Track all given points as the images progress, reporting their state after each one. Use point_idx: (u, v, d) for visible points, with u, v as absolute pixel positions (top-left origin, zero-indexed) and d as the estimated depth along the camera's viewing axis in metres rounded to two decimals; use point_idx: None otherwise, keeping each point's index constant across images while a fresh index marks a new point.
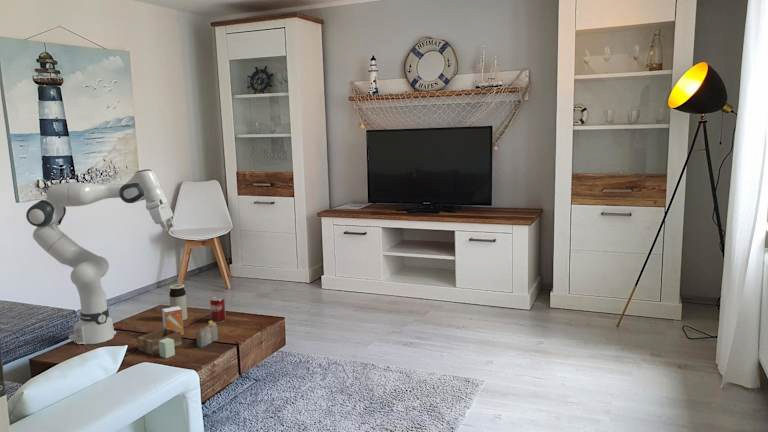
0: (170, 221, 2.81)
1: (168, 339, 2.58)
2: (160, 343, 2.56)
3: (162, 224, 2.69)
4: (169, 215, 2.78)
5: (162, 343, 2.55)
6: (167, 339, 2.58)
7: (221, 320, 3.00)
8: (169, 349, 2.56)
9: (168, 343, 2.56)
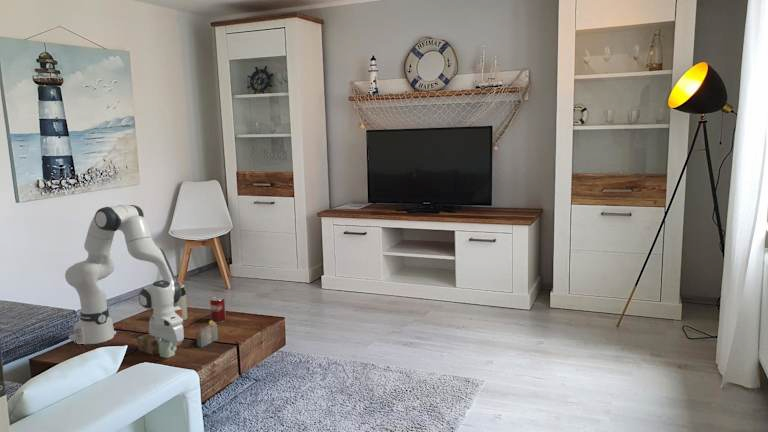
0: (159, 339, 2.61)
1: None
2: (160, 343, 2.56)
3: (175, 343, 2.54)
4: None
5: (162, 343, 2.55)
6: None
7: (221, 320, 3.00)
8: (169, 349, 2.56)
9: (168, 343, 2.56)
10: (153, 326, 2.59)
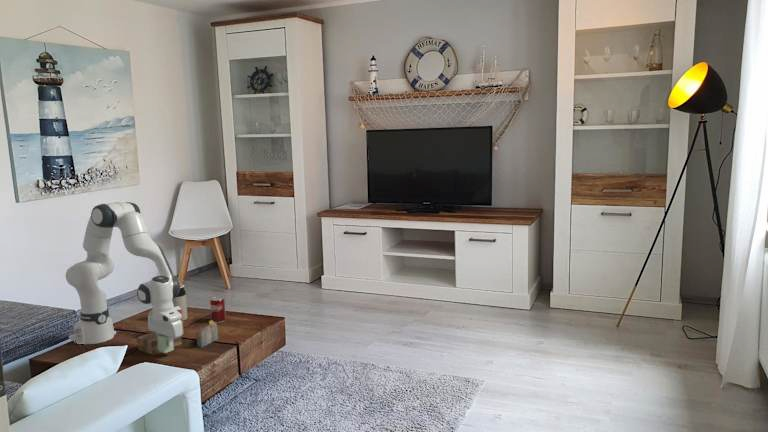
0: None
1: None
2: (159, 338, 2.56)
3: (171, 337, 2.54)
4: None
5: (161, 338, 2.55)
6: None
7: (221, 320, 3.00)
8: None
9: (167, 338, 2.55)
10: (152, 321, 2.58)
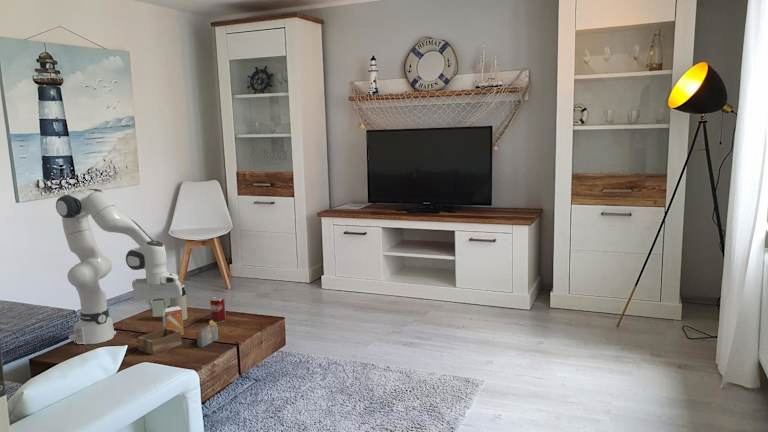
0: (149, 302, 2.59)
1: (159, 299, 2.60)
2: (154, 303, 2.57)
3: (169, 299, 2.60)
4: None
5: (158, 302, 2.57)
6: (157, 299, 2.60)
7: (221, 320, 3.00)
8: (163, 307, 2.60)
9: (163, 301, 2.59)
10: (141, 289, 2.56)
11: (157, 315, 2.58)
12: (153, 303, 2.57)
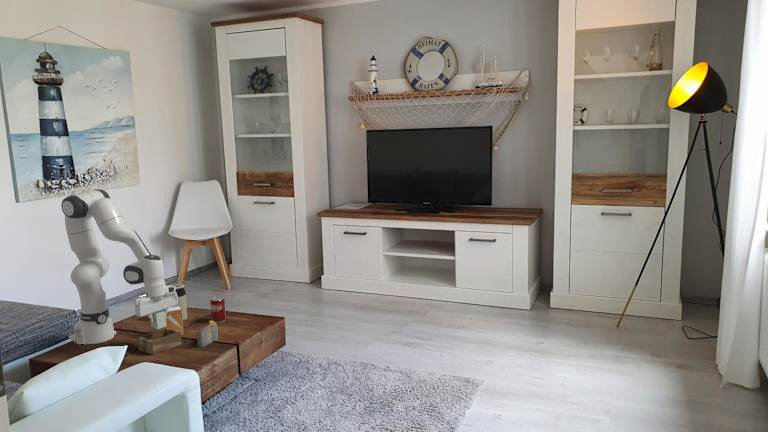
0: None
1: None
2: (158, 315, 2.64)
3: None
4: None
5: (161, 313, 2.65)
6: (155, 312, 2.66)
7: (221, 320, 3.00)
8: None
9: None
10: (146, 304, 2.59)
11: (161, 326, 2.65)
12: (157, 315, 2.63)
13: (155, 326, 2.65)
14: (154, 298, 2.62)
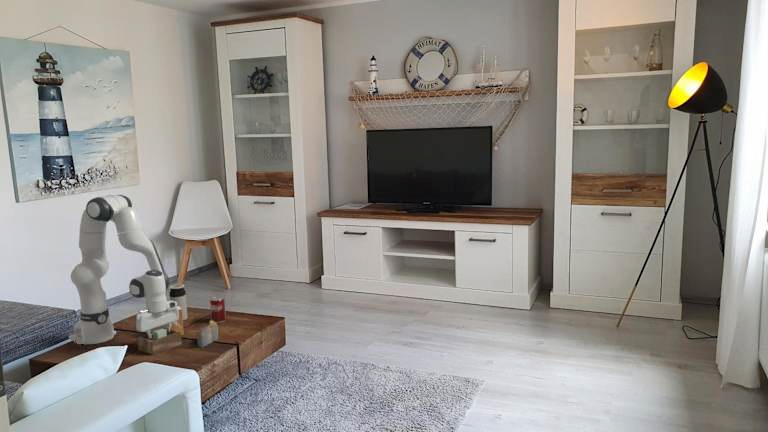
0: None
1: (158, 329, 2.68)
2: (160, 333, 2.65)
3: None
4: None
5: (162, 332, 2.66)
6: (156, 330, 2.67)
7: (221, 320, 3.00)
8: None
9: None
10: (147, 320, 2.60)
11: None
12: (158, 334, 2.65)
13: None
14: (155, 313, 2.63)
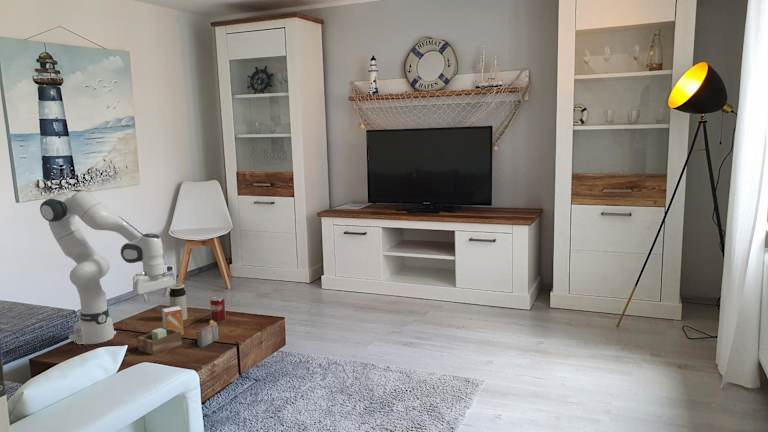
0: None
1: (158, 329, 2.68)
2: (160, 333, 2.65)
3: None
4: None
5: (162, 332, 2.66)
6: (156, 330, 2.67)
7: (221, 320, 3.00)
8: None
9: None
10: (144, 283, 2.57)
11: None
12: (158, 334, 2.65)
13: None
14: (152, 277, 2.60)
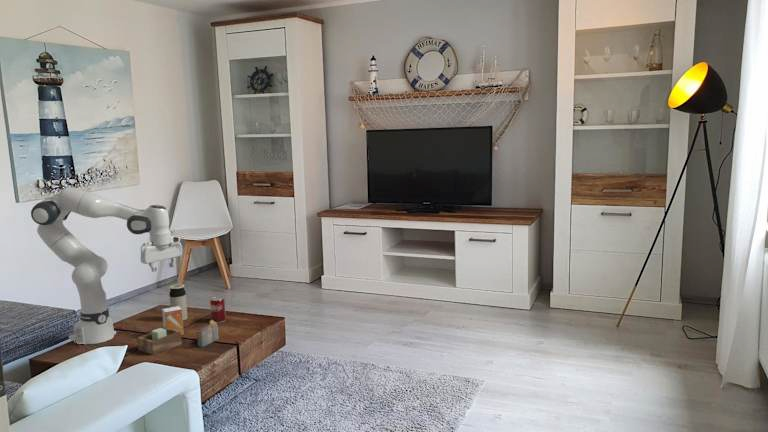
0: None
1: (158, 329, 2.68)
2: (160, 333, 2.65)
3: None
4: None
5: (162, 332, 2.66)
6: (156, 330, 2.67)
7: (221, 320, 3.00)
8: None
9: None
10: (151, 252, 2.66)
11: None
12: (158, 334, 2.65)
13: None
14: (159, 246, 2.68)
